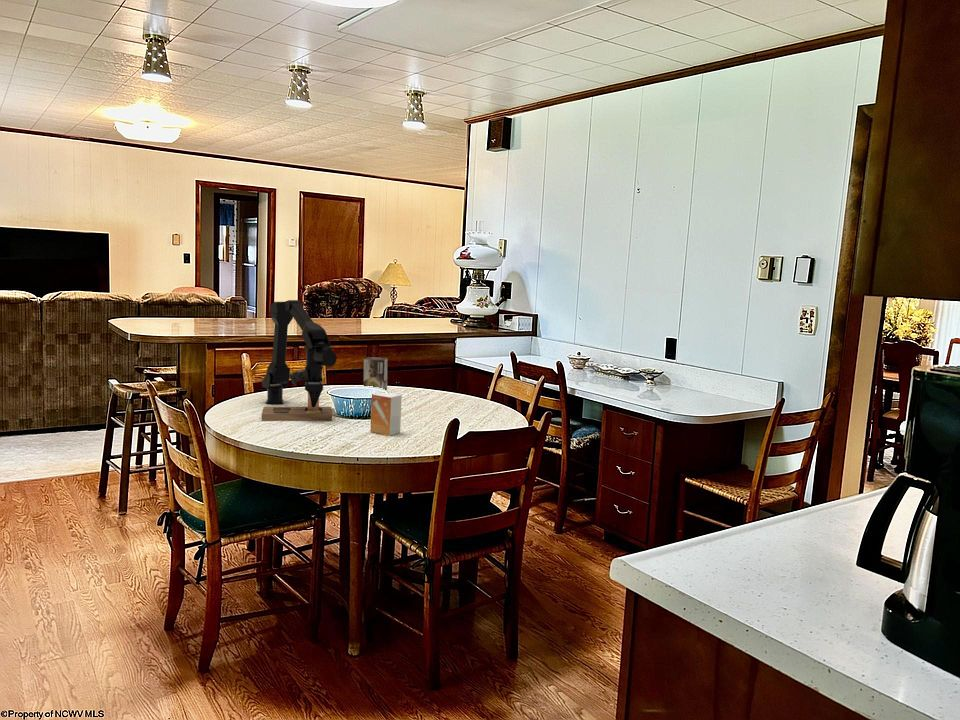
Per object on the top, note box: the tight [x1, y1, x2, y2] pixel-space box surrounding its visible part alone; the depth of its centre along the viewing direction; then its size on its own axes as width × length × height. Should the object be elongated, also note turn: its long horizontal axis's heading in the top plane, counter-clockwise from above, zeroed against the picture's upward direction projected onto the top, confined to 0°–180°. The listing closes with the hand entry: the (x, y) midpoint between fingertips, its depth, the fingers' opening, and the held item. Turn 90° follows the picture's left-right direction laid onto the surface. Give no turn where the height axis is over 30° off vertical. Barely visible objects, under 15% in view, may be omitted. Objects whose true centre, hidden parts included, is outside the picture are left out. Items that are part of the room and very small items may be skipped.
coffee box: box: [363, 356, 389, 391], centre depth 310 cm, size 9×6×16 cm
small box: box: [370, 392, 403, 437], centre depth 247 cm, size 8×6×13 cm
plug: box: [307, 392, 320, 411], centre depth 266 cm, size 4×4×8 cm
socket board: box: [261, 406, 333, 422], centre depth 264 cm, size 12×24×3 cm, turn 103°
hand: (313, 405), depth 266 cm, fingers closed on plug, 4 cm apart
